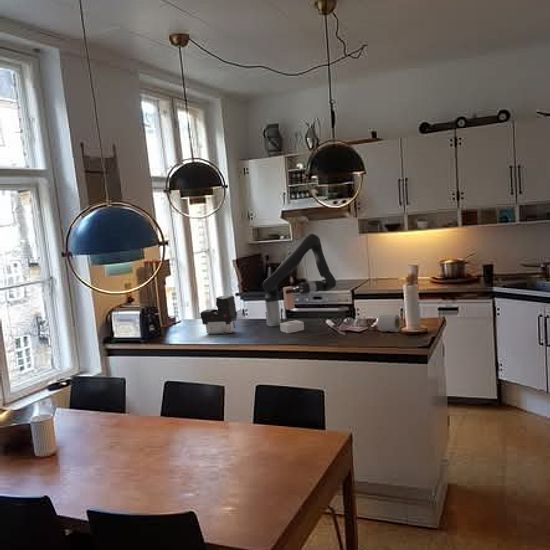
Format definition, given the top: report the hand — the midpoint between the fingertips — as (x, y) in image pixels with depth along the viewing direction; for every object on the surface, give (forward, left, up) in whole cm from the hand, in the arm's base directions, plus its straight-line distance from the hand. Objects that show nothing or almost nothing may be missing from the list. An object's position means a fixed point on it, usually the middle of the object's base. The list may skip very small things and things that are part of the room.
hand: (284, 291), depth 353 cm
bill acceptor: (-47, -17, -27) cm, 57 cm away
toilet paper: (+61, +24, -27) cm, 71 cm away
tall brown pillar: (+1, +3, -12) cm, 12 cm away
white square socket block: (+1, +3, -27) cm, 27 cm away
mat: (+14, +3, -27) cm, 30 cm away
